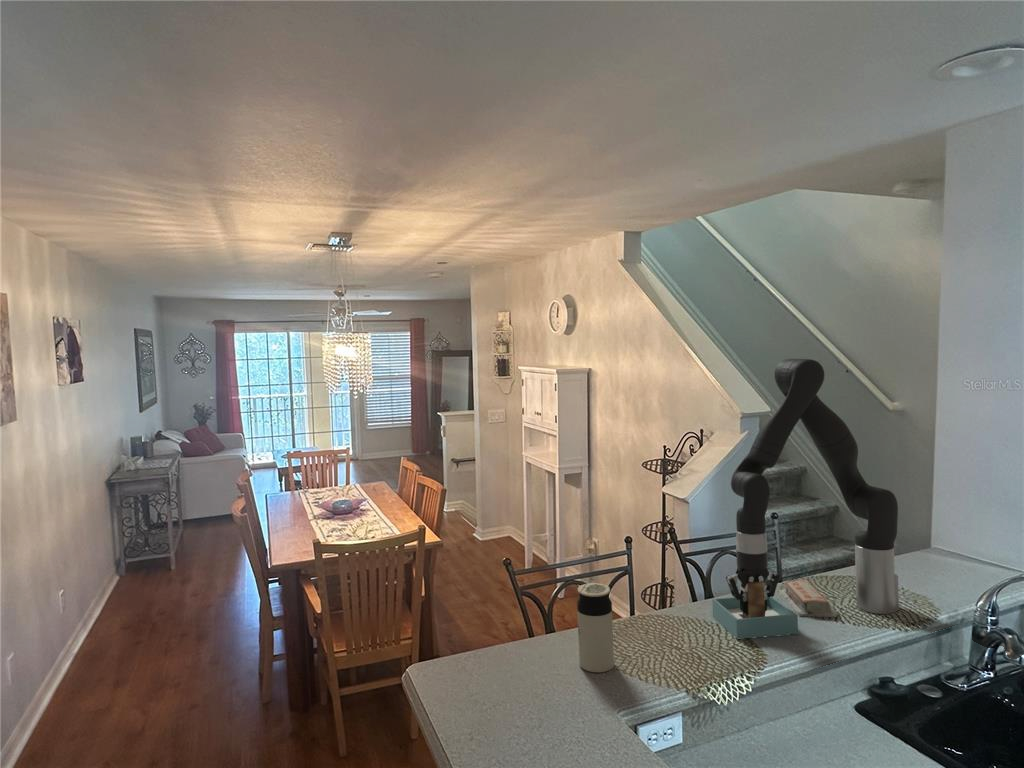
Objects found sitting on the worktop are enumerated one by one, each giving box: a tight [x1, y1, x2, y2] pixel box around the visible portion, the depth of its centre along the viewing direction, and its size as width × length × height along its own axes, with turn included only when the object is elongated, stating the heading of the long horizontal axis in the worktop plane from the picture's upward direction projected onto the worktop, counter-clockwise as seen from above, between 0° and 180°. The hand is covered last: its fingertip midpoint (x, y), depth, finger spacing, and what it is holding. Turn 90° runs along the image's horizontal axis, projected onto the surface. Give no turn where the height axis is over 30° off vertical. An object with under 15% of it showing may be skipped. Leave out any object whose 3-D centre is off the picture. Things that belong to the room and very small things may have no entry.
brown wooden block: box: [743, 581, 765, 618], centre depth 159 cm, size 4×4×11 cm
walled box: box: [712, 596, 799, 640], centre depth 159 cm, size 16×14×5 cm
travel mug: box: [576, 582, 615, 673], centre depth 142 cm, size 8×8×18 cm
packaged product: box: [778, 578, 838, 618], centre depth 172 cm, size 18×5×10 cm
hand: (753, 613), depth 159 cm, fingers closed on brown wooden block, 4 cm apart
